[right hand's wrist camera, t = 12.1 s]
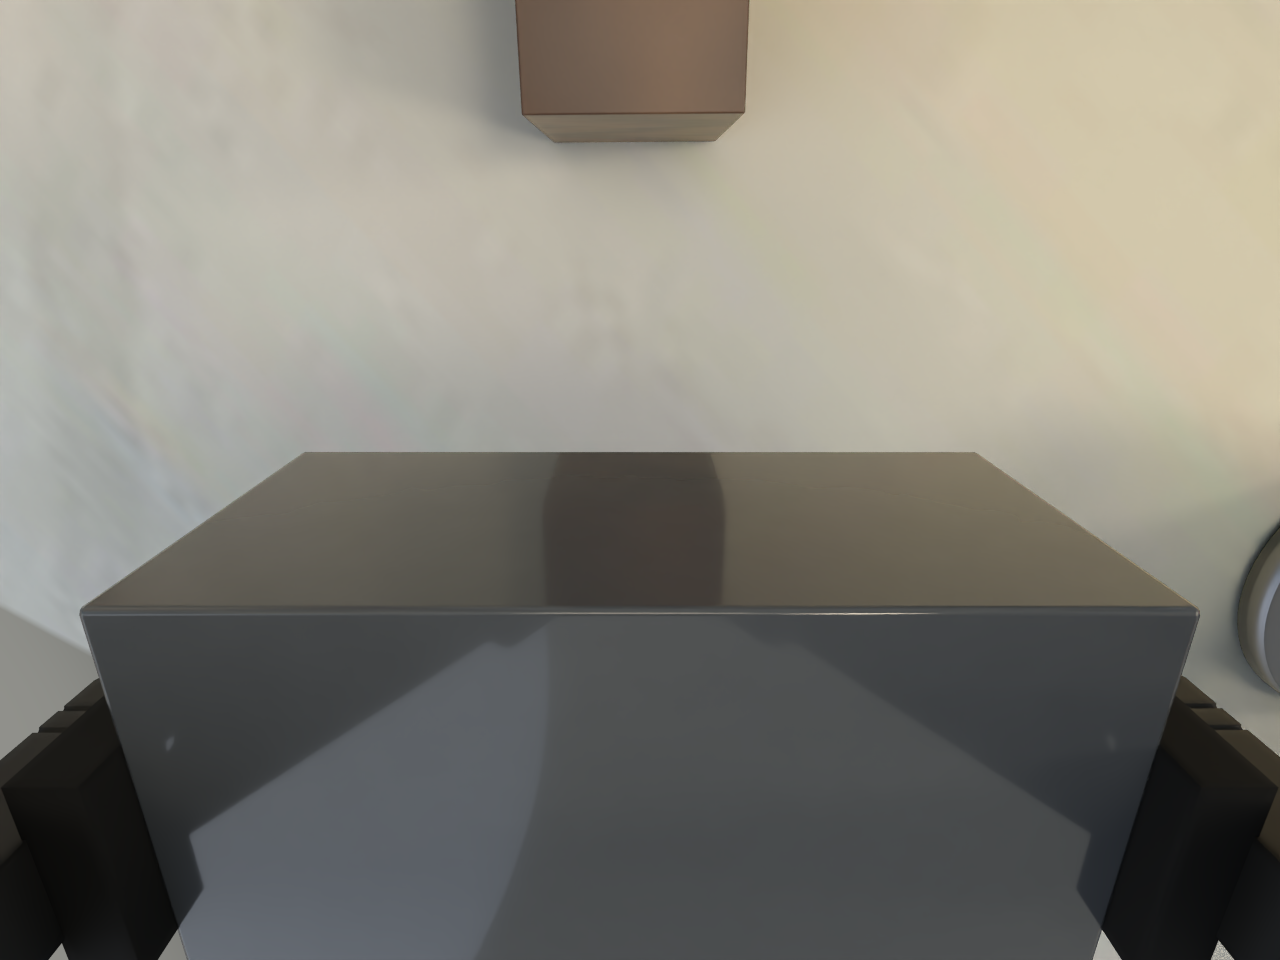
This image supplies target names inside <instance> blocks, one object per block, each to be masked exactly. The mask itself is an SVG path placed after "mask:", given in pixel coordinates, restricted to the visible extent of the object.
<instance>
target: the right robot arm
mask: <svg viewBox="0 0 1280 960" xmlns="http://www.w3.org/2000/svg"><path fill="white" fill-rule="evenodd" d="M1237 625H1238V636H1239V640H1240V645H1241V648H1242V651H1243V653H1244V656H1245V658H1246V660H1247V661H1248V663H1249V665H1250V666H1251V668H1252V669H1253V670H1254V672H1255V673H1256V674H1257V675H1258V676H1259V677H1260V678H1261V679H1262V680H1263V681H1264V682H1265V683H1267V684H1268V685H1269V686H1270V687H1272V688H1273V689H1275V690H1276V691H1277V692H1279V693H1280V528H1279V529H1278V530H1277V531H1276V533H1275V534H1274V535H1273V536H1272V537H1271V539H1270V540H1269V541H1268V543H1267V544H1266V545H1265V547H1264V548H1263V550H1262V551H1261V553H1260V554H1259V556H1258V558H1257V559H1256V561H1255V563H1254V564H1253V566H1252V568H1251V570H1250V572H1249V575H1248V577H1247V579H1246V582H1245V585H1244V587H1243V590H1242V594H1241V598H1240V602H1239V609H1238V623H1237ZM1102 930H1103V931H1104V933H1105V935H1106V936H1107V938H1108V939H1109V941H1110V942H1111V944H1112V945H1113V947H1114V948H1115V950H1116V951H1117V953H1118V955H1119V956H1120V958H1121V959H1122V960H1211V958H1212V955H1213V953H1214V950H1215V948H1216V945H1217V942H1218V940H1219V941H1220V942H1221V944H1222V945H1223V946H1224V947H1225V949H1226V950H1227V951H1228V952H1229V954H1230V955H1231V956H1232V957H1233V959H1234V960H1280V757H1279V756H1278V755H1277V754H1275V753H1274V752H1273V751H1272V750H1271V749H1270V748H1268V747H1267V746H1266V745H1265V744H1264V743H1262V742H1261V741H1260V740H1259V739H1258V738H1257V737H1255V736H1254V735H1253V734H1252V733H1251V732H1249V731H1248V730H1242V728H1241V724H1240V723H1239V722H1238V721H1236V720H1235V719H1234V718H1233V717H1232V716H1230V715H1229V714H1228V713H1227V712H1226V711H1224V710H1223V709H1222V708H1217V707H1216V703H1215V702H1214V701H1213V700H1211V699H1210V698H1209V697H1208V696H1207V695H1206V694H1204V693H1203V692H1202V691H1201V690H1200V689H1198V688H1197V687H1196V686H1195V685H1194V684H1192V683H1191V682H1190V681H1189V680H1188V679H1187V678H1185V677H1183V676H1181V678H1180V681H1179V684H1178V688H1177V691H1176V694H1175V697H1174V700H1173V704H1172V707H1171V710H1170V713H1169V716H1168V720H1167V723H1166V726H1165V729H1164V732H1163V736H1162V739H1161V742H1160V745H1159V748H1158V752H1157V755H1156V758H1155V761H1154V764H1153V768H1152V771H1151V774H1150V777H1149V780H1148V784H1147V787H1146V790H1145V793H1144V796H1143V800H1142V803H1141V806H1140V809H1139V812H1138V816H1137V819H1136V822H1135V825H1134V828H1133V832H1132V835H1131V838H1130V841H1129V844H1128V848H1127V851H1126V854H1125V857H1124V860H1123V864H1122V867H1121V870H1120V873H1119V876H1118V880H1117V883H1116V886H1115V889H1114V892H1113V896H1112V899H1111V902H1110V905H1109V908H1108V912H1107V915H1106V918H1105V921H1104V924H1103V928H1102ZM176 931H177V926H176V923H175V919H174V916H173V913H172V910H171V907H170V903H169V900H168V897H167V894H166V891H165V887H164V884H163V881H162V878H161V875H160V871H159V868H158V865H157V862H156V859H155V855H154V852H153V849H152V846H151V842H150V839H149V836H148V833H147V830H146V826H145V823H144V820H143V817H142V814H141V810H140V807H139V804H138V801H137V798H136V794H135V791H134V788H133V785H132V782H131V778H130V775H129V772H128V769H127V766H126V762H125V759H124V756H123V753H122V750H121V746H120V743H119V740H118V737H117V734H116V730H115V727H114V724H113V721H112V718H111V714H110V711H109V708H108V705H107V702H106V698H105V695H104V692H103V689H102V686H101V682H100V679H99V678H98V679H96V680H95V681H93V682H92V683H91V684H90V685H88V686H87V687H86V688H85V689H84V690H83V691H81V692H80V693H79V694H78V695H77V696H75V697H74V698H73V699H72V700H71V701H70V702H68V703H67V704H66V705H65V706H64V710H63V711H58V712H57V713H56V714H54V715H53V716H52V717H51V718H50V719H48V720H47V721H46V722H45V723H44V724H43V725H41V726H40V727H39V732H38V733H32V734H31V735H30V736H28V737H27V738H26V739H25V740H24V741H22V742H21V743H20V744H19V745H18V746H17V747H15V748H14V749H13V750H12V751H11V752H10V753H8V754H7V755H6V756H5V757H4V758H2V759H1V760H0V960H49V958H50V957H51V956H52V955H53V953H54V952H55V951H56V950H57V948H58V947H59V946H60V944H61V943H62V944H63V947H64V949H65V952H66V954H67V957H68V959H69V960H158V958H159V957H160V955H161V954H162V952H163V951H164V949H165V948H166V946H167V945H168V943H169V942H170V940H171V938H172V937H173V935H174V934H175V932H176Z"/></svg>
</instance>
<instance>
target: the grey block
mask: <svg viewBox="0 0 1280 960" xmlns="http://www.w3.org/2000/svg"><path fill="white" fill-rule="evenodd" d="M1199 617H1200V611H1199V609H1198V607H1196V606H1195V605H1194V604H1192V603H1191V602H1189V601H1188V600H1186V599H1185V598H1184V597H1182V596H1181V595H1179V594H1178V593H1176V592H1175V591H1174V590H1172V589H1171V588H1169V587H1168V586H1166V585H1165V584H1164V583H1162V582H1161V581H1159V580H1158V579H1156V578H1155V577H1154V576H1152V575H1151V574H1149V573H1148V572H1146V571H1145V570H1143V569H1142V568H1141V567H1139V566H1138V565H1136V564H1135V563H1133V562H1132V561H1131V560H1129V559H1128V558H1126V557H1125V556H1123V555H1122V554H1121V553H1119V552H1118V551H1116V550H1115V549H1113V548H1112V547H1111V546H1109V545H1108V544H1106V543H1105V542H1103V541H1102V540H1101V539H1099V538H1098V537H1096V536H1095V535H1093V534H1092V533H1091V532H1089V531H1088V530H1086V529H1085V528H1083V527H1082V526H1080V525H1079V524H1078V523H1076V522H1075V521H1073V520H1072V519H1070V518H1069V517H1068V516H1066V515H1065V514H1063V513H1062V512H1060V511H1059V510H1058V509H1056V508H1055V507H1053V506H1052V505H1050V504H1049V503H1048V502H1046V501H1045V500H1043V499H1042V498H1040V497H1039V496H1038V495H1036V494H1035V493H1033V492H1032V491H1030V490H1029V489H1027V488H1026V487H1025V486H1023V485H1022V484H1020V483H1019V482H1017V481H1016V480H1015V479H1013V478H1012V477H1010V476H1009V475H1007V474H1006V473H1005V472H1003V471H1002V470H1000V469H999V468H997V467H996V466H995V465H993V464H992V463H990V462H989V461H987V460H986V459H985V458H983V457H982V456H980V455H979V454H977V453H975V452H305V453H302V454H301V455H299V456H298V457H296V458H295V459H294V460H292V461H291V462H289V463H288V464H286V465H285V466H284V467H282V468H281V469H279V470H278V471H276V472H275V473H274V474H272V475H271V476H269V477H268V478H266V479H265V480H263V481H262V482H261V483H259V484H258V485H256V486H255V487H253V488H252V489H251V490H249V491H248V492H246V493H245V494H243V495H242V496H240V497H239V498H238V499H236V500H235V501H233V502H232V503H230V504H229V505H228V506H226V507H225V508H223V509H222V510H220V511H219V512H218V513H216V514H215V515H213V516H212V517H210V518H209V519H207V520H206V521H205V522H203V523H202V524H200V525H199V526H197V527H196V528H195V529H193V530H192V531H190V532H189V533H187V534H186V535H184V536H183V537H182V538H180V539H179V540H177V541H176V542H174V543H173V544H172V545H170V546H169V547H167V548H166V549H164V550H163V551H162V552H160V553H159V554H157V555H156V556H154V557H153V558H151V559H150V560H149V561H147V562H146V563H144V564H143V565H141V566H140V567H139V568H137V569H136V570H134V571H133V572H131V573H130V574H129V575H127V576H126V577H124V578H123V579H121V580H120V581H118V582H117V583H116V584H114V585H113V586H111V587H110V588H108V589H107V590H106V591H104V592H103V593H101V594H100V595H98V596H97V597H95V598H94V599H93V600H91V601H90V602H88V603H87V604H85V605H84V606H83V607H82V608H81V610H80V618H81V622H82V625H83V628H84V631H85V634H86V638H87V641H88V644H89V647H90V650H91V654H92V657H93V660H94V663H95V666H96V669H97V673H98V676H99V679H100V682H101V686H102V689H103V692H104V695H105V698H106V702H107V705H108V708H109V711H110V714H111V718H112V721H113V724H114V727H115V730H116V734H117V737H118V740H119V743H120V746H121V750H122V753H123V756H124V759H125V762H126V766H127V769H128V772H129V775H130V778H131V782H132V785H133V788H134V791H135V794H136V798H137V801H138V804H139V807H140V810H141V814H142V817H143V820H144V823H145V826H146V830H147V833H148V836H149V839H150V842H151V846H152V849H153V852H154V855H155V859H156V862H157V865H158V868H159V871H160V875H161V878H162V881H163V884H164V887H165V891H166V894H167V897H168V900H169V903H170V907H171V910H172V913H173V916H174V919H175V923H176V926H177V929H178V932H179V935H180V939H181V942H182V945H183V948H184V951H185V955H186V958H187V960H1093V956H1094V953H1095V950H1096V947H1097V944H1098V940H1099V937H1100V934H1101V931H1102V928H1103V924H1104V921H1105V918H1106V915H1107V912H1108V908H1109V905H1110V902H1111V899H1112V896H1113V892H1114V889H1115V886H1116V883H1117V880H1118V876H1119V873H1120V870H1121V867H1122V864H1123V860H1124V857H1125V854H1126V851H1127V848H1128V844H1129V841H1130V838H1131V835H1132V832H1133V828H1134V825H1135V822H1136V819H1137V816H1138V812H1139V809H1140V806H1141V803H1142V800H1143V796H1144V793H1145V790H1146V787H1147V784H1148V780H1149V777H1150V774H1151V771H1152V768H1153V764H1154V761H1155V758H1156V755H1157V752H1158V748H1159V745H1160V742H1161V739H1162V736H1163V732H1164V729H1165V726H1166V723H1167V720H1168V716H1169V713H1170V710H1171V707H1172V704H1173V700H1174V697H1175V694H1176V691H1177V688H1178V684H1179V681H1180V678H1181V675H1182V672H1183V668H1184V665H1185V662H1186V659H1187V656H1188V652H1189V649H1190V646H1191V643H1192V640H1193V636H1194V633H1195V630H1196V627H1197V624H1198V620H1199Z"/></svg>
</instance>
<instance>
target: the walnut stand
mask: <svg viewBox="0 0 1280 960" xmlns="http://www.w3.org/2000/svg"><path fill="white" fill-rule="evenodd" d="M515 7H516V24H517V41H518V57H519V74H520V91H521V108H522V115H523V116H524V117H525V118H527V119H528V120H529V121H530V122H531V123H532V124H533V125H535V126H536V127H537V128H538V129H539V130H540V131H542V132H543V133H544V134H545V135H546V136H547V137H549V138H550V139H551V140H552V141H553V142H555V143H562V142H671V141H716V140H717V139H718V138H719V137H720V136H721V135H722V134H723V133H724V132H725V131H726V130H727V129H728V128H729V127H730V126H731V125H732V124H733V123H734V122H735V121H736V120H737V119H739V118H740V117H741V116H742V115H743V114H744V112H745V96H746V70H747V44H748V18H749V0H515Z"/></svg>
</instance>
